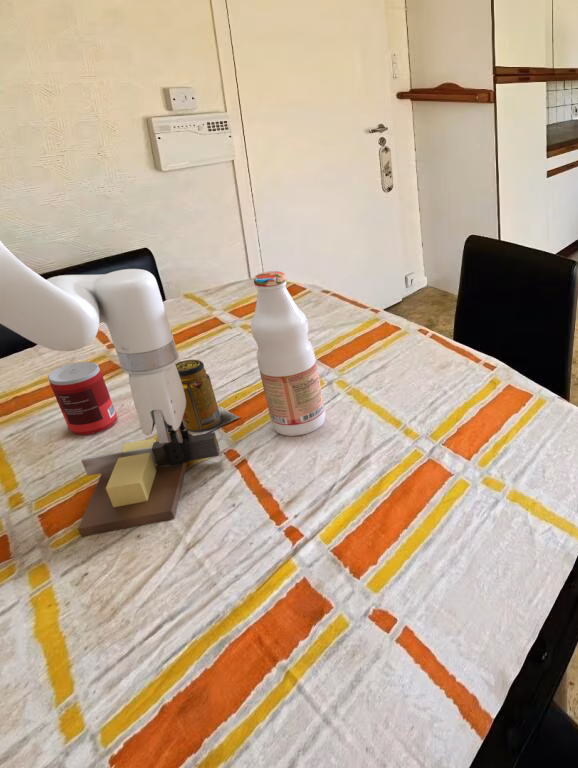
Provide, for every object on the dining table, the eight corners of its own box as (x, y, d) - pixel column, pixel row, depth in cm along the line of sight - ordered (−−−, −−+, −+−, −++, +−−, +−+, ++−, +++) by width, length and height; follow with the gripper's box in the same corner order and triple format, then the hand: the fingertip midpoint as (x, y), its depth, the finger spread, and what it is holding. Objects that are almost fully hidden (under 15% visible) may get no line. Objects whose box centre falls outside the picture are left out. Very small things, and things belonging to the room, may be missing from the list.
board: (81, 536, 87) (77, 528, 87) (112, 462, 103) (109, 454, 103) (174, 518, 91) (171, 510, 90) (191, 448, 107) (188, 441, 106)
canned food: (105, 409, 119) (86, 357, 114) (126, 421, 115) (107, 368, 110) (61, 427, 113) (39, 373, 108) (82, 440, 109) (59, 385, 104)
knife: (86, 478, 96) (78, 460, 94) (89, 471, 98) (82, 453, 96) (218, 456, 101) (213, 438, 99) (219, 449, 102) (214, 432, 101)
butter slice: (126, 471, 99) (120, 453, 97) (130, 461, 101) (124, 443, 99) (158, 466, 100) (151, 447, 98) (161, 455, 102) (155, 437, 101)
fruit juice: (266, 438, 109) (229, 286, 96) (280, 411, 117) (248, 267, 104) (321, 435, 110) (292, 284, 96) (330, 408, 118) (305, 265, 105)
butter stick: (113, 507, 91) (105, 488, 89) (125, 476, 97) (118, 457, 96) (147, 501, 92) (140, 482, 90) (156, 470, 99) (150, 452, 97)
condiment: (176, 425, 113) (157, 366, 108) (220, 406, 119) (204, 349, 114) (196, 438, 109) (178, 378, 104) (240, 418, 115) (225, 360, 109)
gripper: (131, 337, 97) (164, 436, 106) (106, 382, 84) (146, 492, 92) (184, 331, 99) (212, 428, 108) (167, 374, 86) (201, 482, 94)
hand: (181, 457), depth 100 cm, fingers closed on knife, 2 cm apart
